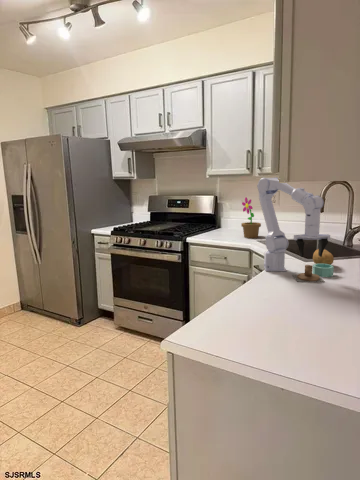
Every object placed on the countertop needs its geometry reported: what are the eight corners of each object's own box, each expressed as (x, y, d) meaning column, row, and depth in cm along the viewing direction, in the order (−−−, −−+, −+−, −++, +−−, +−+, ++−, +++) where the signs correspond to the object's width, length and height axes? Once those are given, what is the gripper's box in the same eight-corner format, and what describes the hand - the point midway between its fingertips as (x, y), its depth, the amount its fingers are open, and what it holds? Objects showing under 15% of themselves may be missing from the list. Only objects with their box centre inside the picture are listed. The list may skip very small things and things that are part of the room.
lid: (299, 281, 136) (300, 268, 135) (295, 274, 145) (295, 263, 144) (322, 281, 135) (322, 268, 134) (316, 275, 144) (316, 263, 143)
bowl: (315, 276, 143) (316, 268, 142) (311, 271, 150) (311, 263, 150) (335, 277, 142) (335, 268, 141) (329, 272, 149) (329, 263, 149)
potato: (315, 270, 153) (316, 253, 152) (309, 262, 167) (310, 247, 165) (337, 270, 151) (338, 253, 150) (329, 262, 165) (330, 247, 163)
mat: (297, 281, 137) (297, 281, 137) (292, 275, 145) (292, 274, 145) (324, 282, 135) (324, 281, 135) (318, 275, 144) (318, 275, 144)
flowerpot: (237, 236, 247) (237, 197, 241) (252, 234, 253) (252, 196, 248) (249, 239, 234) (249, 197, 229) (264, 237, 241) (265, 196, 235)
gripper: (297, 226, 133) (296, 258, 136) (333, 225, 132) (331, 258, 135) (292, 224, 140) (291, 254, 143) (327, 223, 139) (325, 254, 142)
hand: (310, 256), depth 139 cm, fingers open, 7 cm apart
